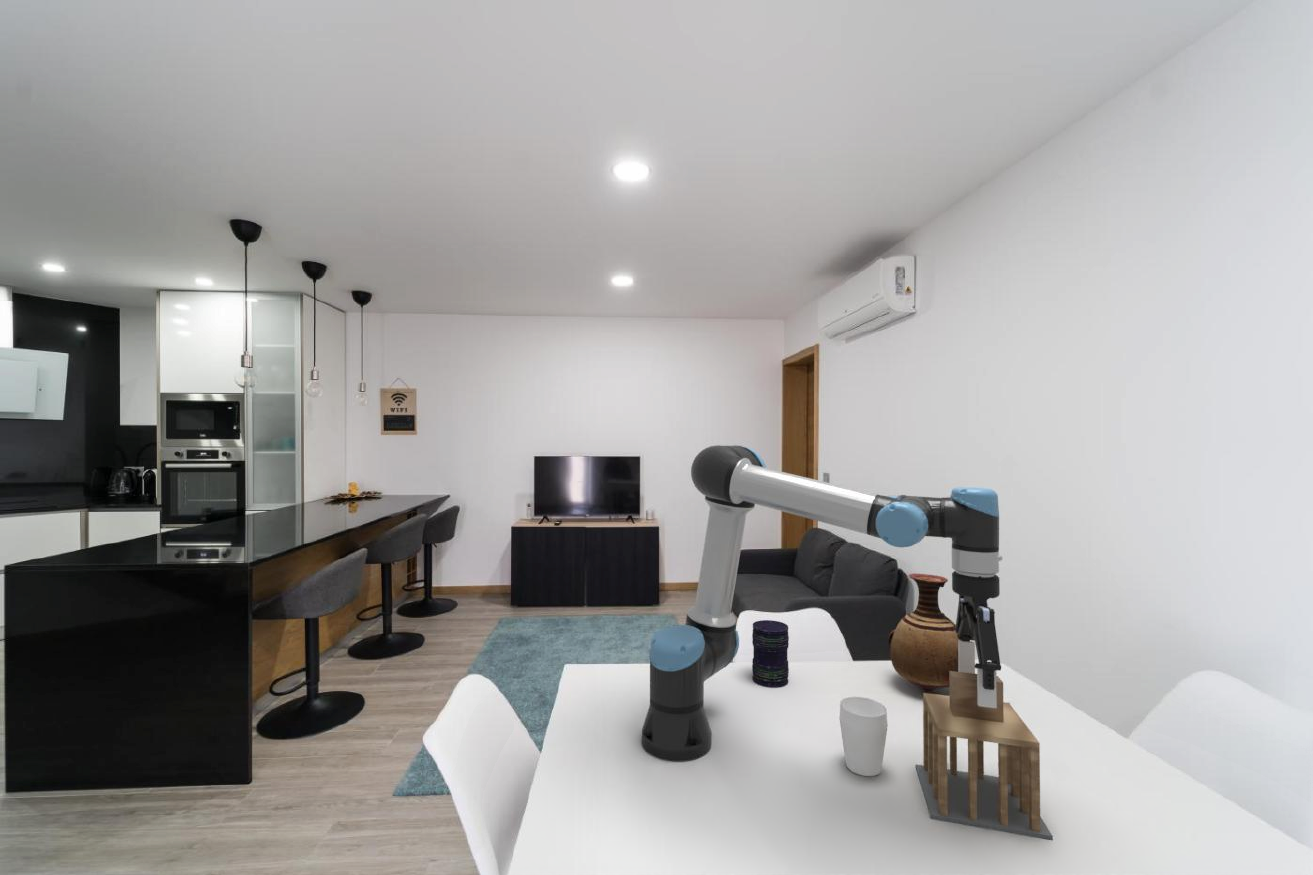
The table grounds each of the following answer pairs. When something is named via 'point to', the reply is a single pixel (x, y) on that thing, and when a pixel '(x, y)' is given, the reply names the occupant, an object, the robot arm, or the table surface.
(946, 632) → the vase
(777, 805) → the table surface
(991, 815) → the mat
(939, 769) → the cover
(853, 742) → the cup
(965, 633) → the robot arm
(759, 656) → the dark blue cylinder
